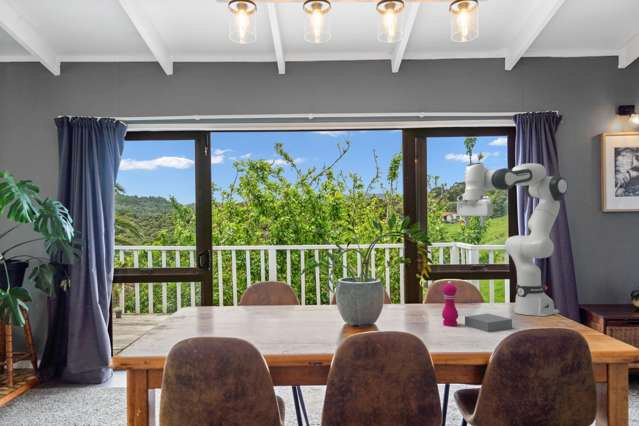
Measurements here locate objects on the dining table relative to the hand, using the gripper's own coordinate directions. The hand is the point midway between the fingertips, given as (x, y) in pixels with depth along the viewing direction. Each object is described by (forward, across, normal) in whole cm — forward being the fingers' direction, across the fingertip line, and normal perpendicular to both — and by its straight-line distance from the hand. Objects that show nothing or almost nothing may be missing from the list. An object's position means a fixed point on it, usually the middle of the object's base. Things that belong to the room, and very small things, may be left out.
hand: (474, 226), depth 223 cm
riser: (+45, -12, +3) cm, 46 cm away
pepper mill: (+45, -1, +15) cm, 48 cm away
